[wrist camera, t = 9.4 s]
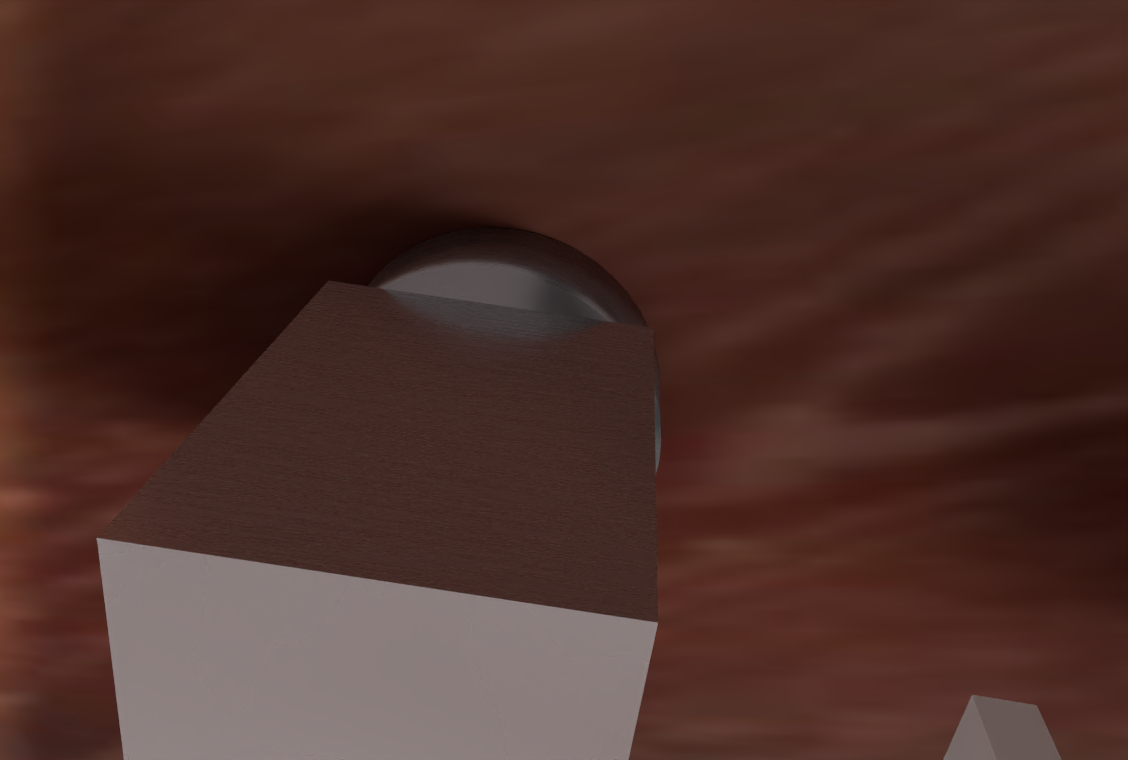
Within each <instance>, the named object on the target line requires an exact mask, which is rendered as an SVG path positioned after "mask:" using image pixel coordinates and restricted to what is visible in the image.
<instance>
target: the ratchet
mask: <svg viewBox="0 0 1128 760" xmlns="http://www.w3.org/2000/svg"><path fill="white" fill-rule="evenodd" d="M368 286H369V287H376V288H382V289H389V290H396V291H403V292H410V293H417V294H424V295H431V296H437V297H444V298H451V299H458V300H465V301H472V302H479V303H486V304H492V305H499V306H506V307H513V308H520V309H527V310H534V311H541V312H547V313H554V314H561V315H568V316H575V317H582V318H589V319H596V320H602V321H609V322H616V323H623V324H630V325H637V326H644V327H648V326H647V324H646V322H645V320H644V318H643V316H642V314H641V312H640V310H639V309H638V307H637V306H636V304H635V303H634V301H633V300H632V298H631V297H630V295H629V294H628V293H627V291H626V290H625V289H624V288H623V287H622V286H621V285H620V284H619V283H618V281H617V280H616V279H615V278H614V277H613V276H612V275H611V274H609V273H608V272H607V271H606V270H605V269H604V268H602V267H601V266H600V265H599V264H598V263H596V262H595V261H593V260H592V259H590V258H589V257H587V256H586V255H584V254H583V253H581V252H580V251H578V250H576V249H574V248H572V247H570V246H568V245H566V244H564V243H562V242H560V241H557V240H554V239H551V238H548V237H545V236H543V235H540V234H536V233H532V232H527V231H522V230H517V229H508V228H495V227H489V228H470V229H465V230H459V231H454V232H449V233H445V234H442V235H439V236H436V237H433V238H430V239H428V240H426V241H423V242H421V243H419V244H417V245H415V246H413V247H411V248H409V249H408V250H406V251H405V252H403V253H402V254H400V255H399V256H397V257H396V258H394V259H393V260H392V261H391V262H390V263H388V264H387V265H386V266H385V267H384V268H383V269H382V270H381V271H380V272H379V273H378V274H377V275H376V276H375V277H374V279H373V280H372V281H371V282H370V283H369V285H368ZM654 390H655V457H656V472H657V468H658V465H659V457H660V448H661V424H660V385H659V365H658V360H657V354H656V349H655V345H654Z"/></svg>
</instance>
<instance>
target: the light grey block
mask: <svg viewBox="0 0 1128 760" xmlns="http://www.w3.org/2000/svg"><path fill="white" fill-rule="evenodd" d="M97 543H98V551H99V559H100V567H101V575H102V583H103V592H104V600H105V608H106V616H107V624H108V632H109V640H110V649H111V657H112V665H113V673H114V681H115V689H116V698H117V706H118V714H119V722H120V730H121V738H122V747H123V755H124V760H628V759H629V755H630V750H631V745H632V741H633V736H634V731H635V727H636V722H637V718H638V713H639V708H640V704H641V699H642V694H643V690H644V685H645V681H646V676H647V671H648V667H649V662H650V657H651V653H652V648H653V643H654V639H655V634H656V630H657V625H658V591H657V524H656V457H655V390H654V328H651V327H644V326H637V325H630V324H623V323H616V322H609V321H602V320H596V319H589V318H582V317H575V316H568V315H561V314H554V313H547V312H541V311H534V310H527V309H520V308H513V307H506V306H499V305H492V304H486V303H479V302H472V301H465V300H458V299H451V298H444V297H437V296H431V295H424V294H417V293H410V292H403V291H396V290H389V289H382V288H376V287H369V286H362V285H355V284H348V283H341V282H334V281H328V282H327V283H326V284H325V285H324V286H323V287H322V288H321V289H320V290H319V292H318V293H317V294H316V295H315V296H314V297H313V298H312V299H311V300H310V302H309V303H308V304H307V305H306V306H305V307H304V308H303V309H302V310H301V312H300V313H299V314H298V315H297V316H296V317H295V318H294V319H293V320H292V322H291V323H290V324H289V325H288V326H287V327H286V328H285V329H284V330H283V332H282V333H281V334H280V335H279V336H278V337H277V338H276V339H275V340H274V342H273V343H272V344H271V345H270V346H269V347H268V348H267V349H266V351H265V352H264V353H263V354H262V355H261V356H260V357H259V358H258V359H257V361H256V362H255V363H254V364H253V365H252V366H251V367H250V368H249V369H248V371H247V372H246V373H245V374H244V375H243V376H242V377H241V378H240V379H239V381H238V382H237V383H236V384H235V385H234V386H233V387H232V388H231V389H230V391H229V392H228V393H227V394H226V395H225V396H224V397H223V398H222V399H221V401H220V402H219V403H218V404H217V405H216V406H215V407H214V408H213V409H212V411H211V412H210V413H209V414H208V415H207V416H206V417H205V418H204V419H203V421H202V422H201V423H200V424H199V425H198V426H197V427H196V428H195V429H194V431H193V432H192V433H191V434H190V435H189V436H188V437H187V438H186V439H185V441H184V442H183V443H182V444H181V445H180V446H179V447H178V448H177V449H176V451H175V452H174V453H173V454H172V455H171V456H170V457H169V458H168V459H167V461H166V462H165V463H164V464H163V465H162V466H161V467H160V468H159V469H158V471H157V472H156V473H155V474H154V475H153V476H152V477H151V478H150V479H149V481H148V482H147V483H146V484H145V485H144V486H143V487H142V488H141V489H140V491H139V492H138V493H137V494H136V495H135V496H134V497H133V498H132V499H131V501H130V502H129V503H128V504H127V505H126V506H125V507H124V508H123V509H122V511H121V512H120V513H119V514H118V515H117V516H116V517H115V518H114V519H113V521H112V522H111V523H110V524H109V525H108V526H107V527H106V528H105V530H104V531H103V532H102V533H101V534H100V535H99V536H98V537H97Z"/></svg>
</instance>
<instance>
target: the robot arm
mask: <svg viewBox="0 0 1128 760" xmlns="http://www.w3.org/2000/svg"><path fill="white" fill-rule="evenodd" d="M943 760H1061V758H1060V755H1059V753H1058V751H1057V749H1056V747H1055V744H1054V742H1053V740H1052V738H1051V736H1050V734H1049V731H1048V729H1047V727H1046V725H1045V723H1044V720H1043V718H1042V716H1041V714H1040V712H1039V709H1038V707H1037V705H1031V704H1025V703H1019V702H1013V701H1007V700H1001V699H995V698H989V697H982V696H976V695H972V696H971V699H970V701H969V703H968V705H967V708H966V710H965V712H964V714H963V717H962V719H961V721H960V723H959V726H958V728H957V730H956V732H955V735H954V737H953V739H952V741H951V744H950V746H949V748H948V750H947V753H946V755H945V757H944V759H943Z"/></svg>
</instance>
